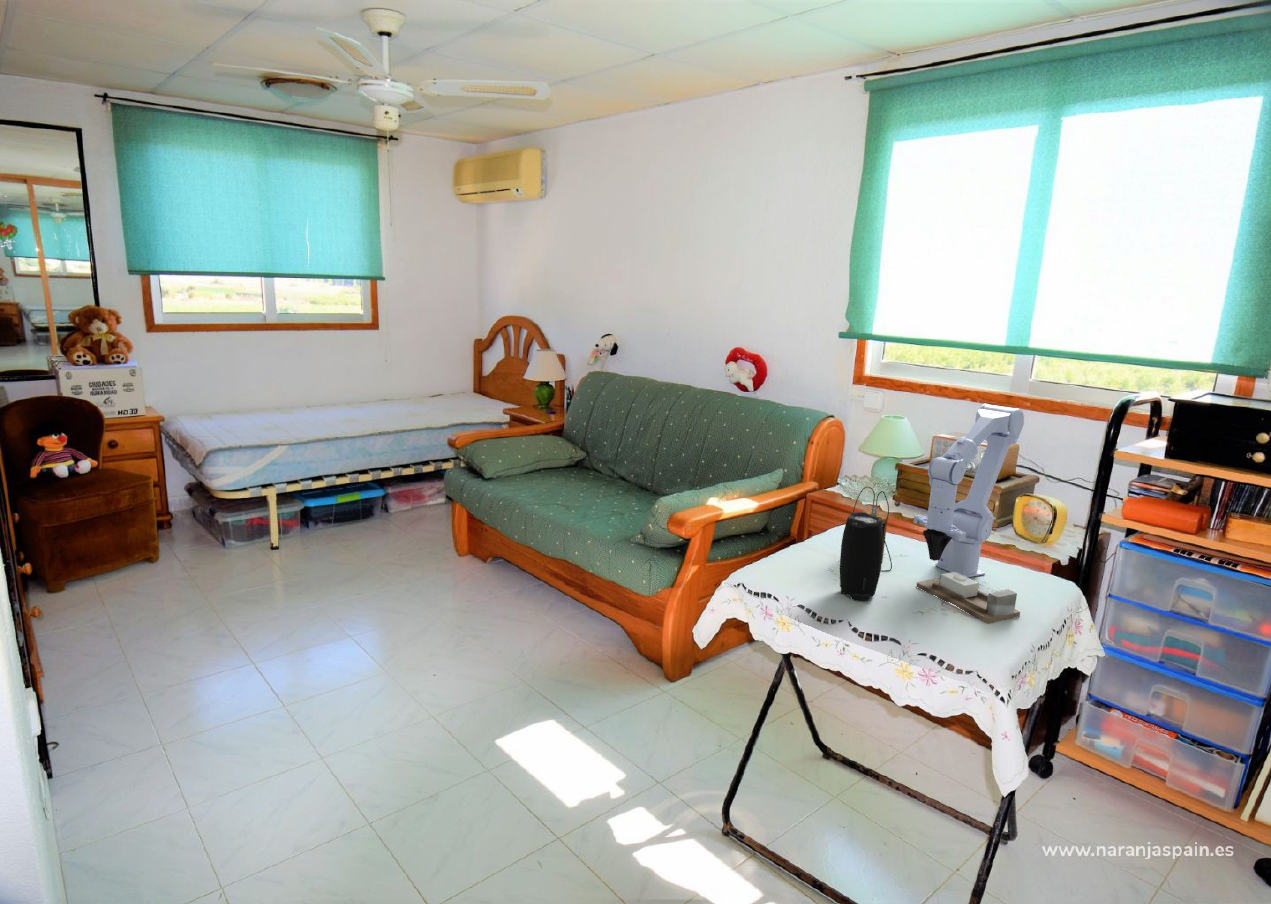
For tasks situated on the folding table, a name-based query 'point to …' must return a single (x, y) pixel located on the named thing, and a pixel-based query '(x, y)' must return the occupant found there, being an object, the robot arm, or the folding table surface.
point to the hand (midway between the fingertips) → (934, 559)
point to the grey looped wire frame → (882, 521)
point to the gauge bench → (977, 602)
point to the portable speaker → (861, 555)
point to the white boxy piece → (959, 584)
